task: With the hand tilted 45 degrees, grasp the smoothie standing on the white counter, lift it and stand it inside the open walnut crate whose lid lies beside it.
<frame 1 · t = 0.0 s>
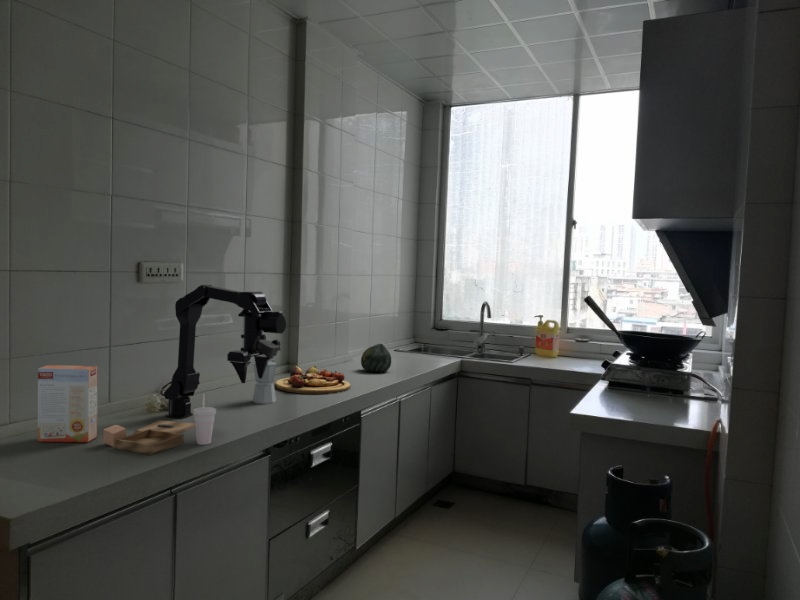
hand: (252, 380, 192), 15 cm above the worktop, tool pointing down, fingers open, 9 cm apart
squash: (376, 371, 303), on the worktop
wooden plate with food: (313, 388, 259), on the worktop
coffee maker: (265, 401, 229), on the worktop
smoothie: (204, 443, 173), on the worktop
cracker box: (67, 440, 172), on the worktop
crate lid: (166, 429, 186), on the worktop
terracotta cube: (114, 428, 168), point 4 cm above the worktop, tilted 168°
crate: (150, 445, 169), on the worktop
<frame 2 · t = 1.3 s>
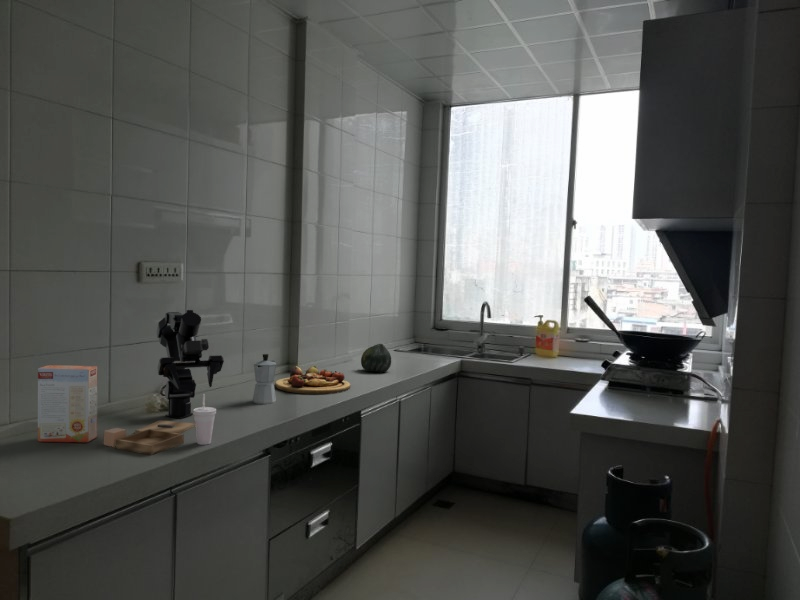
hand: (195, 387, 182), 14 cm above the worktop, tool tilted 45°, fingers open, 9 cm apart
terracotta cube: (115, 430, 169), point 4 cm above the worktop, tilted 180°
everything else where it was.
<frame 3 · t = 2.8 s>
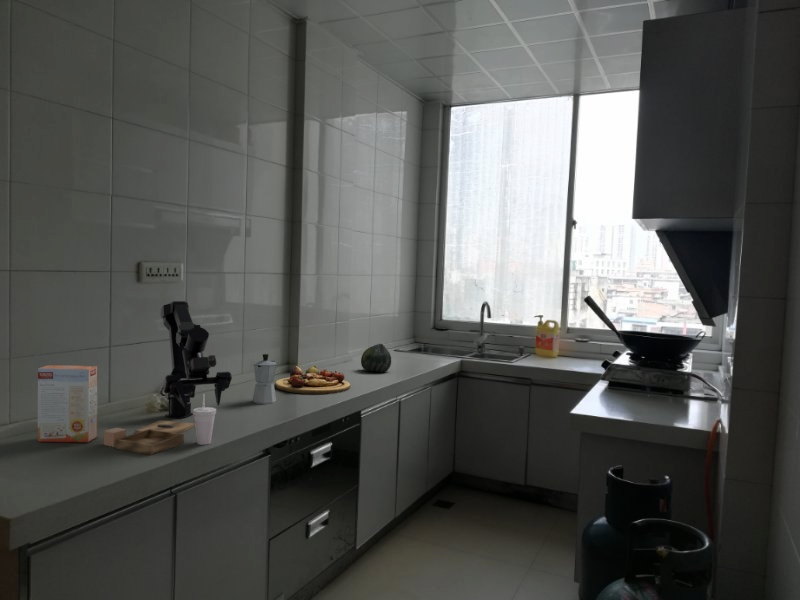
hand: (202, 406, 175), 10 cm above the worktop, tool tilted 45°, fingers open, 9 cm apart
nothing on the worktop moved.
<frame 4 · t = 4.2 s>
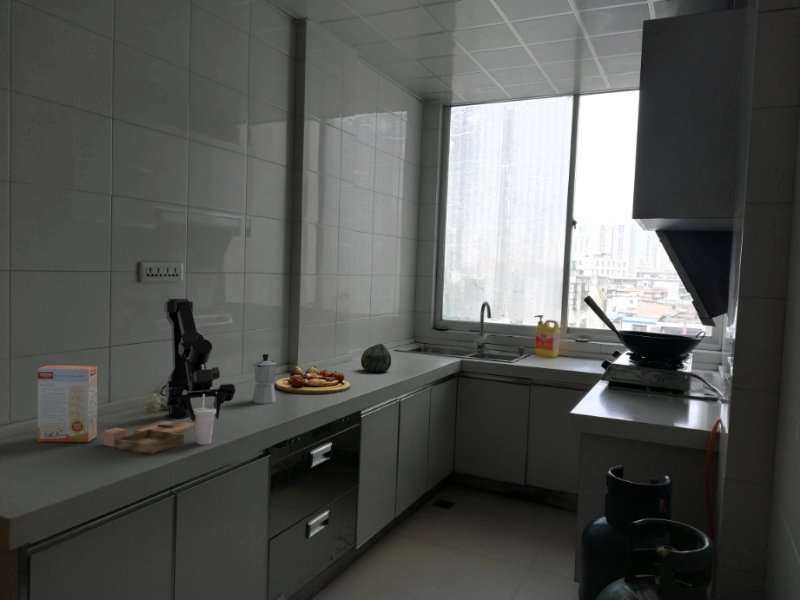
hand: (205, 419, 172), 7 cm above the worktop, tool tilted 45°, fingers closed on smoothie, 6 cm apart
smoothie: (204, 443, 173), on the worktop, touching gripper
everything else where it was.
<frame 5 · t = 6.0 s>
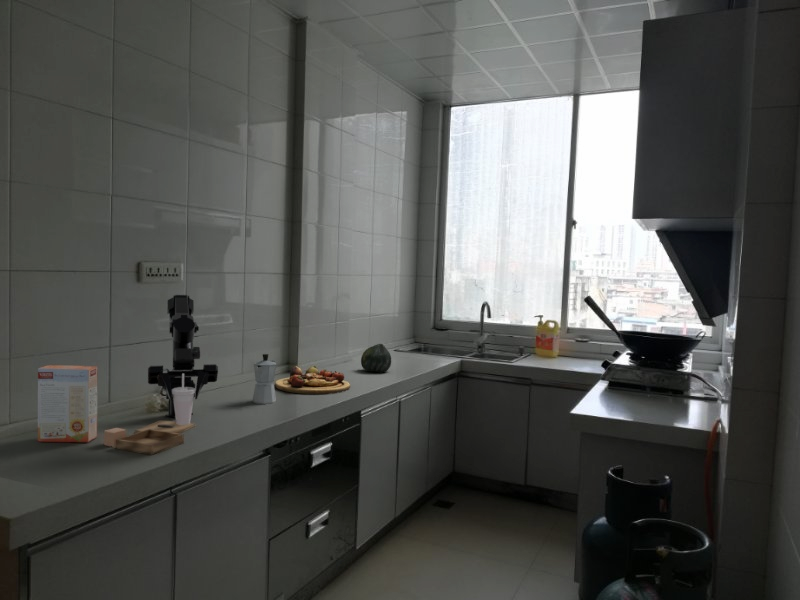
hand: (183, 399, 169), 13 cm above the worktop, tool tilted 45°, fingers closed on smoothie, 6 cm apart
smoothie: (183, 423, 171), point 6 cm above the worktop, touching gripper
everything else where it was.
when the fingers open (9 cm above the worktop, at t = 8.1 s): smoothie drops 1 cm, resting on crate.
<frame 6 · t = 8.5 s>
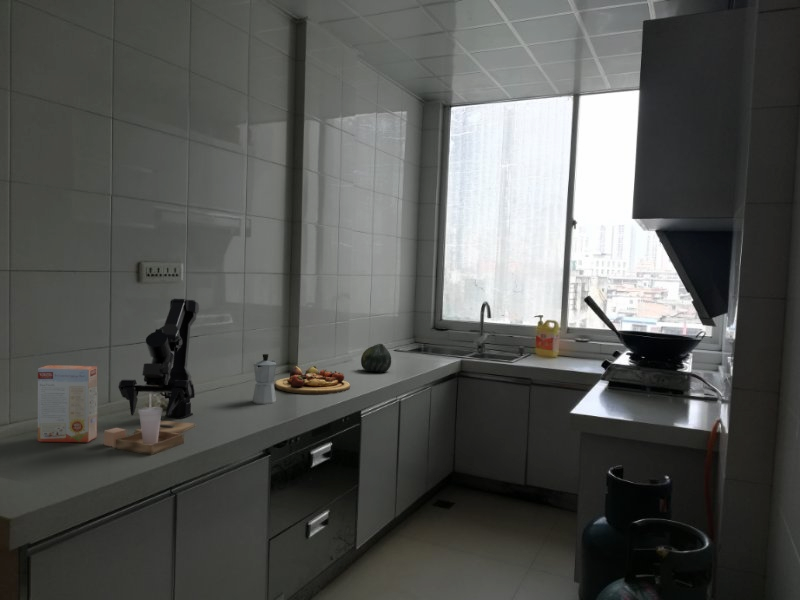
hand: (149, 414, 167), 9 cm above the worktop, tool tilted 45°, fingers open, 9 cm apart
smoothie: (150, 444, 169), resting on crate
everything else where it was.
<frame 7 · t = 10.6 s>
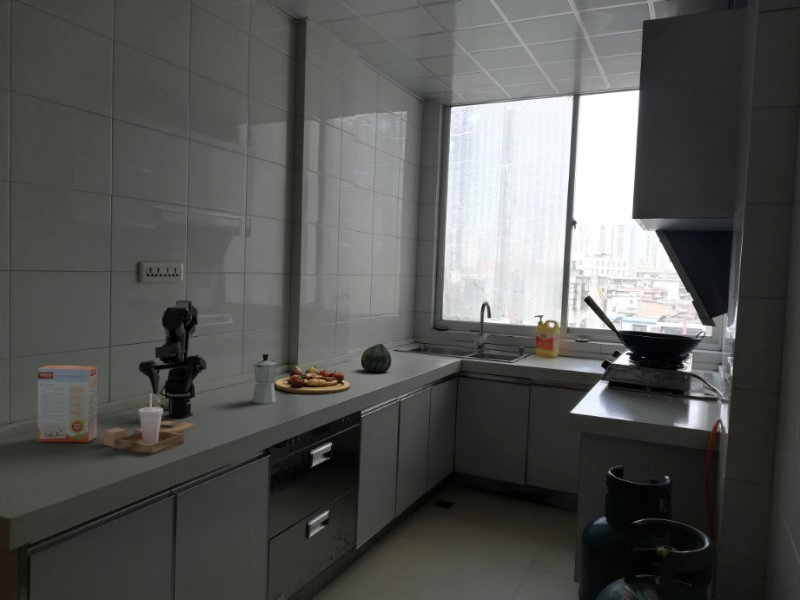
hand: (170, 392, 179), 13 cm above the worktop, tool tilted 30°, fingers open, 9 cm apart
nothing on the worktop moved.
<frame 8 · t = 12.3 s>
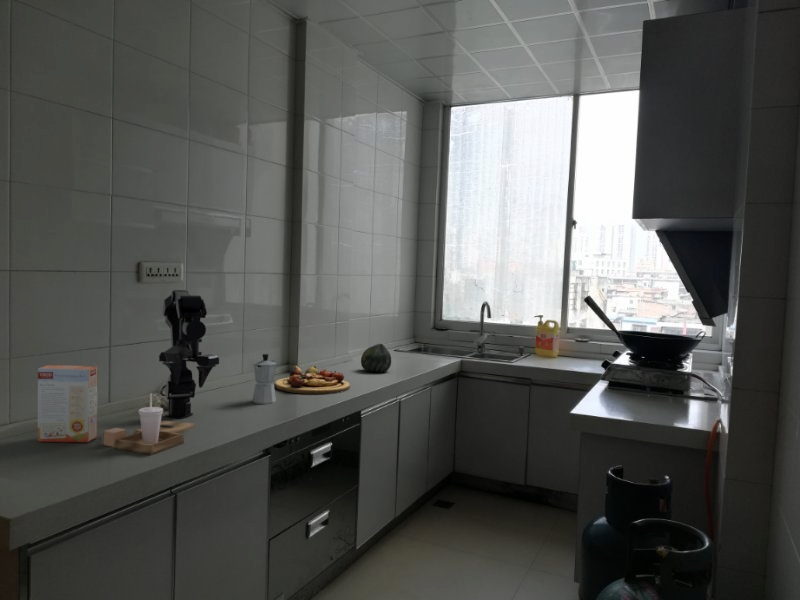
hand: (188, 385, 188), 13 cm above the worktop, tool pointing down, fingers open, 9 cm apart
nothing on the worktop moved.
at the end: smoothie inside the target area on the crate (0.3 cm from its centre), point 0.3 cm above the crate's base; smoothie tilted 0°; the gripper is holding nothing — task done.
